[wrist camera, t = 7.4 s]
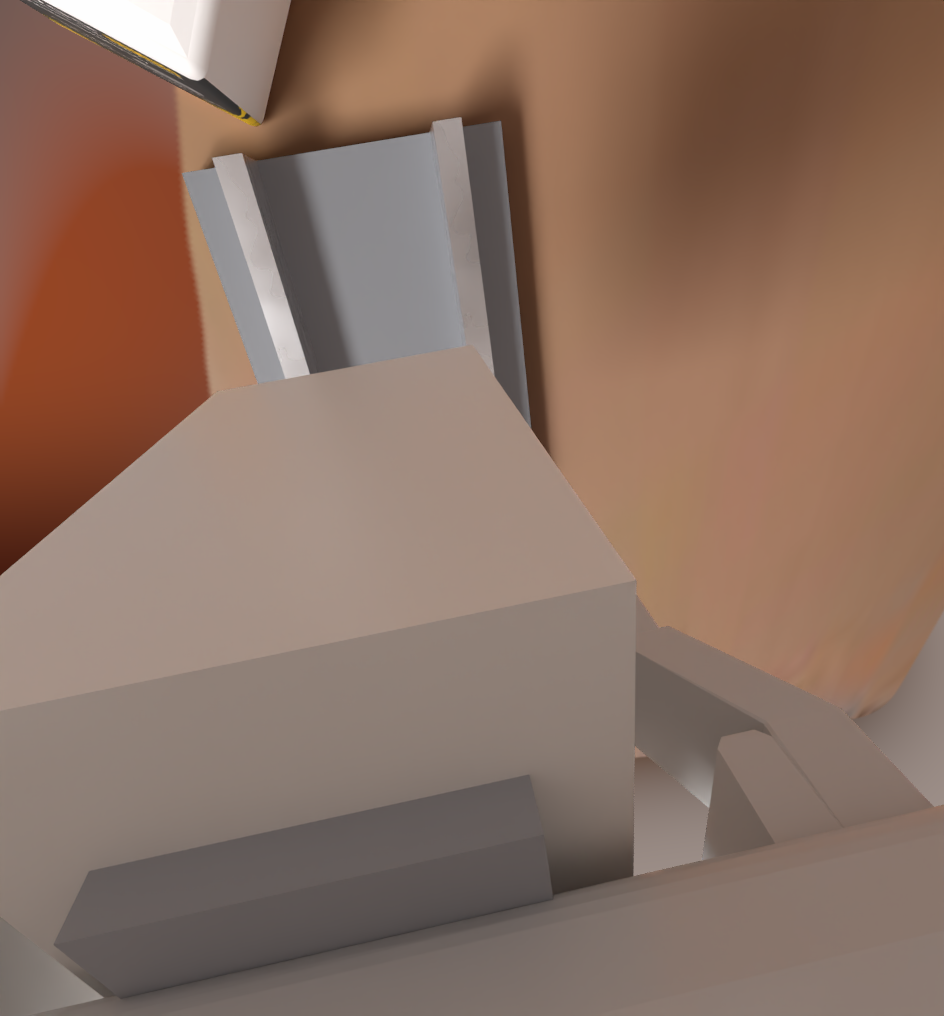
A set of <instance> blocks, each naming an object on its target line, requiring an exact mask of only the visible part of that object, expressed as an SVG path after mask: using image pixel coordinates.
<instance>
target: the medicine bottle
mask: <svg viewBox="0 0 944 1016" xmlns="http://www.w3.org/2000/svg"><path fill="white" fill-rule="evenodd" d="M21 1H22V2H24V3H25V4H27V5H29V6H30V7H32V8H33V9H35V10H36V11H38V12H40V13H41V14H43V15H45V16H46V17H48V18H49V19H51V20H52V21H54V22H56V23H57V24H59V25H61V26H63V27H65V28H67V29H69V30H70V31H73V32H74V33H76V34H78V35H80V36H82V37H84V38H86V39H88V40H89V41H92V42H93V43H95V44H97V45H99V46H101V47H103V48H105V49H107V50H109V51H110V52H113V53H114V54H116V55H118V56H120V57H122V58H124V59H126V60H128V61H129V62H131V63H133V64H135V65H137V66H139V67H141V68H143V69H145V70H147V71H148V72H151V73H152V74H154V75H156V76H158V77H160V78H162V79H164V80H166V81H167V82H169V83H171V84H173V85H175V86H177V87H179V88H181V89H183V90H185V91H186V92H188V93H190V94H192V95H194V96H196V97H198V98H200V99H202V100H204V101H206V102H207V103H209V104H211V105H213V106H215V107H217V108H219V109H221V110H223V111H225V112H226V113H228V114H230V115H232V116H234V117H236V118H238V119H240V120H242V121H244V122H245V123H247V124H249V125H252V126H259V125H261V123H262V122H263V120H264V116H265V111H266V107H267V103H268V98H269V94H270V89H271V85H272V81H273V76H274V72H275V68H276V63H277V59H278V55H279V50H280V46H281V42H282V37H283V33H284V29H285V24H286V20H287V16H288V11H289V7H290V3H291V0H21Z"/></svg>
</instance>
